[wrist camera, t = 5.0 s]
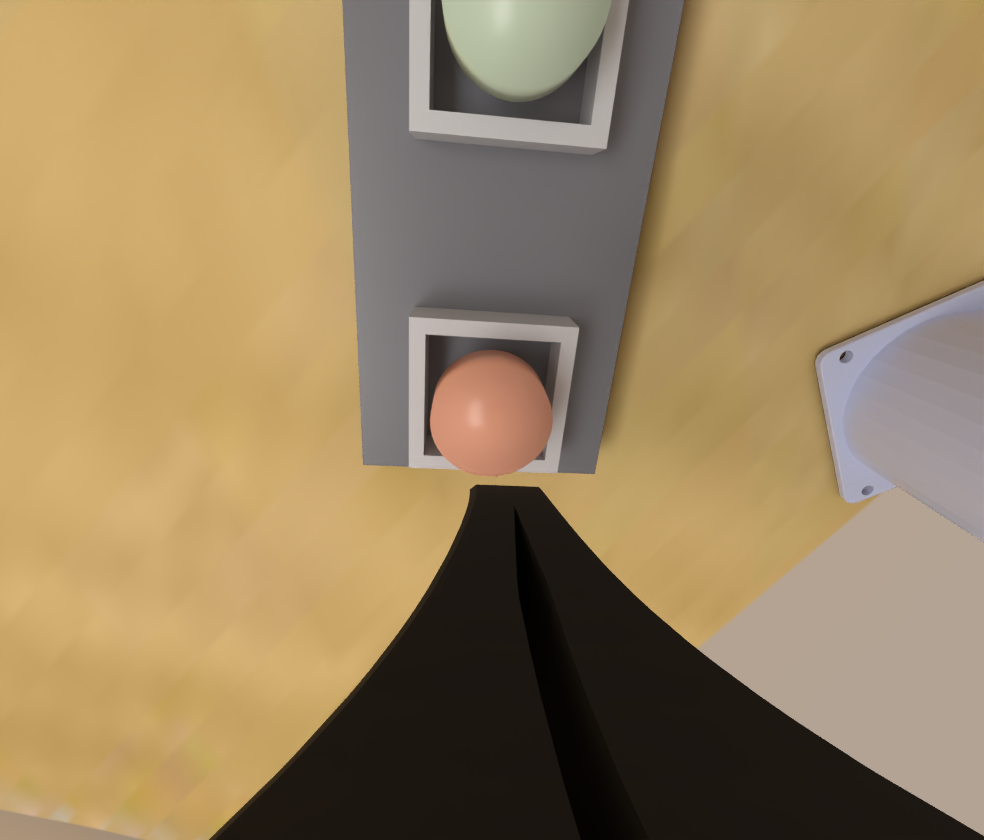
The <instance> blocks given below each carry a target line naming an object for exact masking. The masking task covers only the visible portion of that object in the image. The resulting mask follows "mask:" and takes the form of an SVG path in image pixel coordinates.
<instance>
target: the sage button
mask: <svg viewBox="0 0 984 840" xmlns="http://www.w3.org/2000/svg"><path fill="white" fill-rule="evenodd" d="M610 6H611V0H442V8H443V16H444V23H445V30H446V34H447V38H448V41H449V44H450V47H451V50H452V52H453V54H454V56H455V59H456V61H457V62H458V64H459V66H460V67H461V69H462V70H463V72H464V73H465V74H466V75H467V77H468V78H469V79H470V80H471V81H472V82H473V83H474V84H475V85H476V86H477V87H478V88H480V89H481V90H483V91H484V92H485V93H487V94H489V95H491V96H493V97H495V98H498V99H501V100H504V101H509V102H528V101H533V100H537V99H540V98H542V97H545V96H547V95H549V94H551V93H552V92H554V91H555V90H557V89H558V88H559V87H560V86H562V85H563V84H564V83H565V82H566V81H567V80H568V79H569V78H570V77H571V76H572V74H573V73H574V72H575V71H576V69H577V68H578V67H579V66H580V64H581V63H582V62H583V61H584V59H585V58H586V57H587V56H588V54H589V53H590V51H591V50H592V48H593V47H594V46H595V44H596V42H597V40H598V38H599V36H600V35H601V32H602V30H603V28H604V25H605V23H606V20H607V17H608V13H609V10H610Z"/></svg>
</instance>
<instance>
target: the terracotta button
mask: <svg viewBox="0 0 984 840" xmlns="http://www.w3.org/2000/svg"><path fill="white" fill-rule="evenodd" d="M552 422H553V416H552V409H551V404H550V402H549V399H548V397H547V394H546V392H545V390H544V387H543V385H542V383H541V380H540V378H539V377H538V375H537V373H536V372H535V371H534V369H533V368H532V367H531V366H530V365H529V364H528V363H527V362H525V361H524V360H523V359H521V358H519V357H518V356H516V355H513V354H511V353H508V352H504V351H500V350H481V351H476V352H472V353H469V354H467V355H464V356H462V357H461V358H459V359H457V360H456V361H455V362H453V363H452V364H451V365H450V366H449V367H448V368H447V369H446V370H445V371H444V373H443V374H442V375H441V377H440V379H439V381H438V383H437V385H436V388H435V392H434V397H433V403H432V409H431V416H430V428H431V433H432V437H433V440H434V442H435V444H436V446H437V448H438V450H439V451H440V452H441V454H442V455H443V456H444V457H445V458H446V459H447V460H448V461H449V462H450V463H451V464H453V465H454V466H456V467H457V468H459V469H461V470H463V471H465V472H468V473H471V474H475V475H480V476H499V475H505V474H509V473H512V472H515V471H517V470H519V469H521V468H523V467H525V466H526V465H528V464H529V463H531V462H532V461H533V460H534V459H535V458H536V457H537V456H538V455H539V454H540V453H541V451H542V450H543V449H544V447H545V445H546V444H547V442H548V440H549V437H550V434H551V430H552Z"/></svg>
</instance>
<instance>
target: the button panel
mask: <svg viewBox="0 0 984 840" xmlns="http://www.w3.org/2000/svg"><path fill="white" fill-rule="evenodd" d="M342 3H343V25H344V48H345V70H346V93H347V115H348V137H349V160H350V182H351V205H352V227H353V249H354V272H355V294H356V316H357V339H358V361H359V384H360V406H361V428H362V451H363V465H380V466H405V467H409V468H433V469H459V468H457V467H456V466H454V465H453V464H451V463H450V462H449V461H448V460H447V459H446V458H445V457H444V456H443V455H442V454H441V452H440V451H439V450H438V448H437V446H436V444H435V442H434V440H433V437H432V433H431V428H430V416H431V409H432V403H433V397H434V392H435V388H436V385H437V383H438V381H439V379H440V377H441V375H442V374H443V373H444V371H445V370H446V369H447V368H448V367H449V366H450V365H451V364H452V363H453V362H455V361H456V360H457V359H459V358H461V357H462V356H464V355H467V354H469V353H472V352H476V351H481V350H500V351H504V352H508V353H511V354H513V355H516V356H518V357H519V358H521V359H523V360H524V361H525V362H527V363H528V364H529V365H530V366H531V367H532V368H533V369H534V371H535V372H536V373H537V375H538V377H539V378H540V380H541V383H542V385H543V387H544V390H545V392H546V394H547V397H548V399H549V402H550V404H551V409H552V416H553V422H552V430H551V434H550V437H549V440H548V442H547V444H546V445H545V447H544V449H543V450H542V451H541V453H540V454H539V455H538V456H537V457H536V458H535V459H534V460H533V461H532V462H531V463H529V464H528V465H526V466H525V467H523V468H521V469H519V470H517V471H515V472H535V473H557V472H558V473H583V474H595V469H596V464H597V458H598V453H599V448H600V443H601V437H602V432H603V427H604V422H605V416H606V411H607V406H608V400H609V395H610V390H611V385H612V379H613V374H614V369H615V364H616V358H617V353H618V348H619V342H620V337H621V332H622V327H623V321H624V316H625V311H626V306H627V300H628V295H629V290H630V284H631V279H632V274H633V269H634V263H635V258H636V253H637V248H638V242H639V237H640V232H641V226H642V221H643V216H644V211H645V205H646V200H647V195H648V190H649V184H650V179H651V174H652V168H653V163H654V158H655V153H656V147H657V142H658V137H659V132H660V126H661V121H662V116H663V110H664V105H665V100H666V95H667V89H668V84H669V79H670V74H671V68H672V63H673V58H674V52H675V47H676V42H677V37H678V31H679V26H680V21H681V16H682V10H683V5H684V0H611V6H610V10H609V13H608V17H607V20H606V23H605V25H604V28H603V30H602V32H601V35H600V36H599V38H598V40H597V42H596V44H595V46H594V47H593V48H592V50H591V51H590V53H589V54H588V56H587V57H586V58H585V59H584V61H583V62H582V63H581V64H580V66H579V67H578V68H577V69H576V71H575V72H574V73H573V74H572V76H571V77H570V78H569V79H568V80H567V81H566V82H565V83H564V84H563V85H562V86H560V87H559V88H558V89H557V90H555V91H554V92H552V93H551V94H549V95H547V96H545V97H542V98H540V99H537V100H533V101H528V102H509V101H504V100H501V99H498V98H495V97H493V96H491V95H489V94H487V93H485V92H484V91H483V90H481V89H480V88H478V87H477V86H476V85H475V84H474V83H473V82H472V81H471V80H470V79H469V78H468V77H467V75H466V74H465V73H464V72H463V70H462V69H461V67H460V66H459V64H458V62H457V61H456V59H455V56H454V54H453V52H452V50H451V47H450V44H449V41H448V38H447V34H446V30H445V23H444V16H443V8H442V0H342ZM459 470H461V469H459Z"/></svg>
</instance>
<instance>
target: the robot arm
mask: <svg viewBox="0 0 984 840" xmlns="http://www.w3.org/2000/svg"><path fill="white" fill-rule="evenodd" d="M845 351H846V354H845V356H844V357H843V358H842V359H841V360H840V356H841V354H842V353H843V352H845ZM815 367H816V372H817V377H818V383H819V388H820V393H821V398H822V404H823V409H824V414H825V419H826V425H827V430H828V435H829V440H830V446H831V451H832V456H833V461H834V467H835V472H836V477H837V482H838V488H839V493H840V496H841V498H843V499H844V500H845V501H847V502H848V503H856V502H859V501H862V500H864V499H867V498H870V497H872V496H875V495H877V494H880V493H883V492H885V491H888V490H890V489H893V488H896V487H899V488H900V489H902V490H903V491H905V492H906V493H908V494H909V495H911V496H913V497H914V498H916V499H917V500H919V501H921V502H922V503H924V504H925V505H927V506H928V507H930V508H931V509H933V510H934V511H936V512H937V513H939V514H940V515H942V516H943V517H945V518H946V519H948V520H950V521H951V522H953V523H954V524H956V525H957V526H959V527H960V528H962V529H963V530H965V531H967V532H968V533H970V534H971V535H973V536H974V537H976V538H977V539H979V540H980V541H982V542H983V543H984V280H983V281H981V282H979V283H976V284H974V285H972V286H969V287H967V288H965V289H963V290H960V291H958V292H956V293H953V294H951V295H949V296H946V297H944V298H942V299H940V300H937V301H935V302H933V303H930V304H928V305H926V306H923V307H921V308H919V309H917V310H914V311H912V312H910V313H907V314H905V315H903V316H901V317H898V318H896V319H894V320H891V321H889V322H887V323H884V324H882V325H880V326H878V327H875V328H873V329H871V330H868V331H866V332H864V333H861V334H859V335H857V336H855V337H852V338H850V339H848V340H845V341H843V342H841V343H838V344H836V345H834V346H832V347H829V348H827V349H825V350H823V351H822V352H821V353H820V354H819V355H818V356H817V358H816V360H815ZM864 487H865V488H864ZM863 488H864V489H863ZM209 840H984V836H983V835H981V834H979V833H978V832H976V831H974V830H972V829H971V828H969V827H967V826H966V825H964V824H962V823H961V822H959V821H957V820H955V819H954V818H952V817H950V816H949V815H947V814H945V813H944V812H942V811H940V810H938V809H937V808H935V807H933V806H932V805H930V804H928V803H926V802H925V801H923V800H921V799H920V798H918V797H916V796H915V795H913V794H911V793H909V792H908V791H906V790H904V789H903V788H901V787H899V786H898V785H896V784H894V783H892V782H890V781H889V780H887V779H885V778H884V777H882V776H881V775H879V774H877V773H875V772H874V771H872V770H871V769H869V768H867V767H865V766H864V765H863V764H861V763H859V762H858V761H856V760H855V759H853V758H852V757H850V756H849V755H847V754H846V753H844V752H843V751H841V750H839V749H838V748H836V747H835V746H833V745H832V744H830V743H829V742H827V741H826V740H824V739H822V738H821V737H819V736H818V735H816V734H815V733H813V732H812V731H810V730H809V729H807V728H806V727H804V726H803V725H801V724H799V723H798V722H796V721H795V720H794V719H792V718H791V717H789V716H788V715H786V714H785V713H783V712H782V711H781V710H779V709H778V708H776V707H775V706H773V705H772V704H770V703H769V702H767V701H766V700H765V699H763V698H762V697H760V696H759V695H757V694H756V693H755V692H753V691H752V690H751V689H749V688H748V687H747V686H745V685H744V684H743V683H741V682H740V681H739V680H737V679H736V678H735V677H733V676H732V675H730V674H729V673H728V672H726V671H725V670H724V669H722V668H721V667H720V666H718V665H717V664H716V663H714V662H713V661H712V660H710V659H709V658H708V657H707V656H705V655H704V654H703V653H702V652H700V651H699V650H698V649H696V648H695V647H694V646H693V645H691V644H690V643H689V642H688V641H687V640H685V639H684V638H683V637H682V636H681V635H679V634H678V633H677V632H676V631H675V630H674V629H672V628H671V627H670V626H669V625H668V624H667V623H665V622H664V621H663V620H662V619H661V618H660V617H658V616H657V615H656V614H655V613H654V612H653V611H651V610H650V609H649V608H648V607H647V606H646V605H645V604H644V603H643V602H642V601H641V600H639V599H638V598H637V597H636V596H635V595H634V594H633V593H632V592H631V591H630V590H629V589H628V588H627V587H626V586H625V585H624V584H623V583H622V582H621V581H620V580H619V579H618V578H617V577H616V576H615V575H614V574H613V573H612V572H611V571H610V570H609V569H608V568H607V567H606V566H605V565H604V564H603V563H602V561H601V560H600V559H599V558H598V557H597V556H596V555H595V554H594V552H593V551H592V550H591V549H590V548H589V547H588V546H587V545H586V544H585V542H584V541H583V540H582V539H581V538H580V537H579V535H578V534H577V533H576V532H575V531H574V530H573V528H572V527H571V526H570V525H569V524H568V522H567V521H566V520H565V519H564V517H563V516H562V515H561V514H560V512H559V511H558V510H557V509H556V507H555V506H554V505H553V504H552V502H551V501H550V500H549V499H548V497H547V496H546V495H545V494H544V492H543V491H542V490H541V489H540V488H539V487H525V486H498V485H475V486H474V487H473V488H471V489H470V498H469V503H468V507H467V510H466V513H465V516H464V518H463V521H462V524H461V526H460V528H459V531H458V533H457V535H456V537H455V539H454V542H453V544H452V546H451V548H450V550H449V552H448V554H447V556H446V558H445V560H444V562H443V563H442V565H441V567H440V569H439V570H438V572H437V574H436V576H435V577H434V579H433V581H432V583H431V585H430V586H429V588H428V590H427V591H426V593H425V594H424V596H423V598H422V599H421V601H420V602H419V604H418V605H417V607H416V608H415V610H414V611H413V613H412V614H411V616H410V617H409V619H408V620H407V621H406V623H405V624H404V626H403V627H402V629H401V630H400V631H399V633H398V634H397V636H396V637H395V638H394V640H393V641H392V642H391V643H390V645H389V646H388V647H387V649H386V650H385V651H384V652H383V654H382V655H381V656H380V658H379V659H378V660H377V662H376V663H375V664H374V665H373V667H372V668H371V669H370V671H369V672H368V673H367V674H366V675H365V677H364V678H363V679H362V680H361V682H360V683H359V684H358V685H357V686H356V688H355V689H354V690H353V691H352V692H351V693H350V695H349V696H348V697H347V698H346V699H345V700H344V701H343V702H342V703H341V705H340V706H339V707H338V708H337V709H336V710H335V711H334V712H333V713H332V714H331V716H330V717H329V718H328V719H327V720H326V721H325V722H324V723H323V724H322V725H321V727H320V728H319V729H318V730H317V731H316V732H315V733H314V734H313V735H312V737H311V738H310V739H309V740H308V741H307V742H306V743H305V744H304V745H303V746H302V748H301V749H300V750H299V751H298V752H297V753H296V754H295V755H294V756H293V757H292V758H291V759H290V760H289V761H288V762H287V763H286V765H285V766H284V767H283V768H282V769H281V770H280V771H279V772H278V773H277V774H276V775H275V776H274V777H273V778H272V779H271V780H270V781H269V782H268V783H267V784H266V785H265V786H264V787H263V788H262V789H260V790H259V791H258V792H257V793H256V794H255V795H254V796H253V797H252V798H251V799H250V800H249V801H248V802H247V803H246V804H245V805H244V806H243V807H242V808H241V809H240V810H239V811H238V812H237V813H236V814H235V815H234V816H233V817H232V818H231V819H230V820H229V821H228V822H227V823H226V824H225V825H224V826H222V827H221V828H220V829H219V830H218V831H217V832H216V833H215V834H214V835H213V836H212V837H211V838H210V839H209Z"/></svg>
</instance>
